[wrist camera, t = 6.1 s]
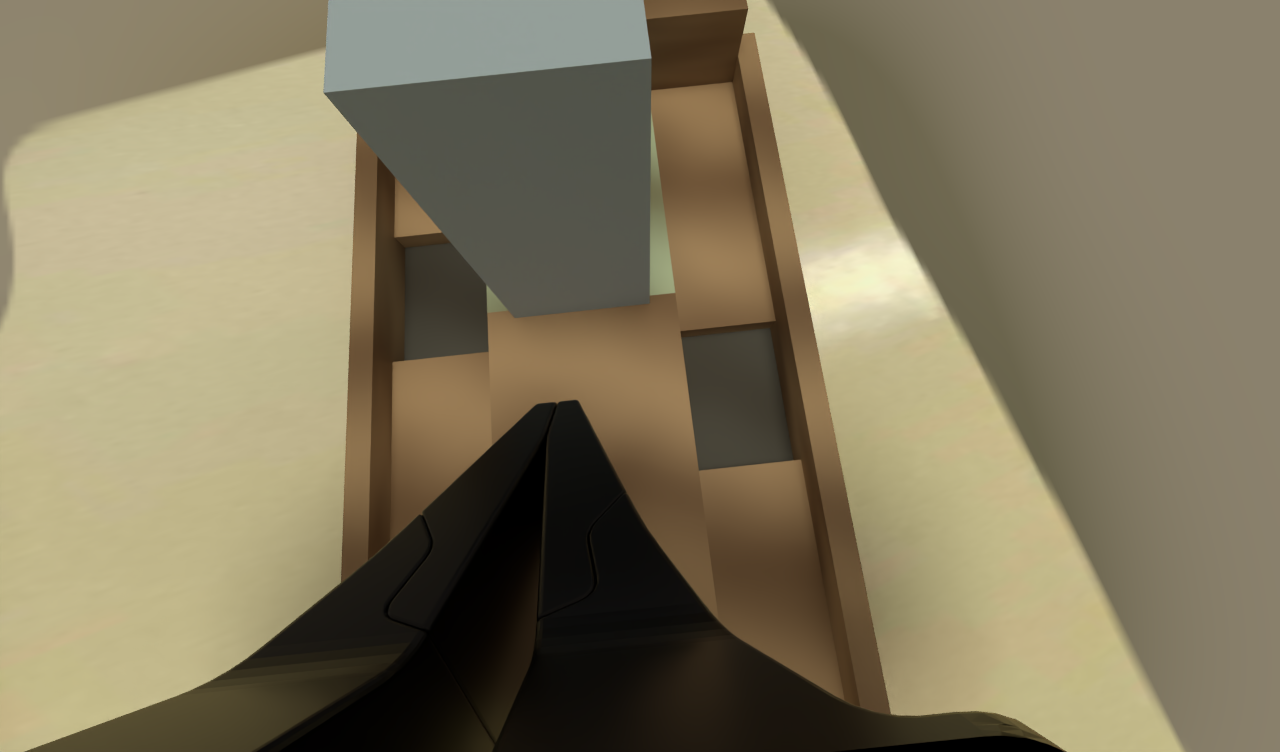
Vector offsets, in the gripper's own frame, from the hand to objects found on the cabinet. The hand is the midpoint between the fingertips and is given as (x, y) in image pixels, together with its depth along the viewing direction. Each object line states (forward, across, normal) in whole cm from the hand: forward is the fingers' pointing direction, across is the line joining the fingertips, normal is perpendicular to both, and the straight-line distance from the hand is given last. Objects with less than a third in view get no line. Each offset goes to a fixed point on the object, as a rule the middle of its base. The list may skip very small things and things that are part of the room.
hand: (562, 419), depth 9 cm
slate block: (+11, 0, -2) cm, 11 cm away
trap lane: (+8, 0, +3) cm, 8 cm away
